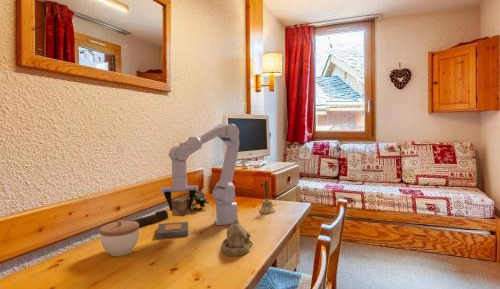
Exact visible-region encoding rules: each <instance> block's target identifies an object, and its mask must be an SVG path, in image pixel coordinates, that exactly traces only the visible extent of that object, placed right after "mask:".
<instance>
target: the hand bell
mask: <svg viewBox="0 0 500 289" xmlns="http://www.w3.org/2000/svg"><path fill="white" fill-rule="evenodd" d="M263 190H264V194H265V195H264V196H265V198H264V200H262V203H261V204H262V205H261V207H260V209H259V210H258V213H260V214H264V215H265V214H274V213H275V212H276V209H275V208H274V207H273V204H272V200H271V199H270V197H269V190H270V184H269V180H268V179H264V184H263Z"/></svg>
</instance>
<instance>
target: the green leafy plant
mask: <svg viewBox="0 0 500 289" xmlns="http://www.w3.org/2000/svg"><path fill="white" fill-rule="evenodd" d="M187 194H188V196H189V192H188V193H187ZM194 201H195V202H194ZM205 204H206V205H207V204H208V205H209V204H210V201H208V198H206V196H205V193H203V192H201V191H197V192H196V193H195V196H194V198H193V201H192V205H191V211H190V212H192V211H193V210H194V208H195V207H196V205H199V206H200V208H201V207H203V208H206V205H205Z"/></svg>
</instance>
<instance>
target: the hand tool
mask: <svg viewBox="0 0 500 289" xmlns="http://www.w3.org/2000/svg"><path fill="white" fill-rule="evenodd" d="M167 219H169V213H168V211H167V210H166V209H163V210H159V211H158V210H157V211H156V212H155V213H154V214H151V215H146V216H143V217H140V218H139V217H138V218H136V219H133V220H132V219H131V220H130V219H129V220H128V221H135V222H138V223H139V227H141V226H145V225H149V224H151V223H155V222H158V223H160V222H163V221H165V220H167Z"/></svg>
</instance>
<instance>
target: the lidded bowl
mask: <svg viewBox="0 0 500 289" xmlns="http://www.w3.org/2000/svg"><path fill="white" fill-rule="evenodd" d="M99 235H100V238H99V239H100V243H101V246H102V248H103V250H104V251H105V252H107V253H108V254H109V255H110V256H112V257H113V256H114V257H121V256H125V255H127V254H130V253H131V252H132V251H133V249H134V248H136V246H137V244H138V241H139V236H140V226H139V223H138V222H135V221H129V220H120V219H119V220H117V221H114V222H110V223H107V224H105V225H103V226H101V227H100V228H99Z"/></svg>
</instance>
